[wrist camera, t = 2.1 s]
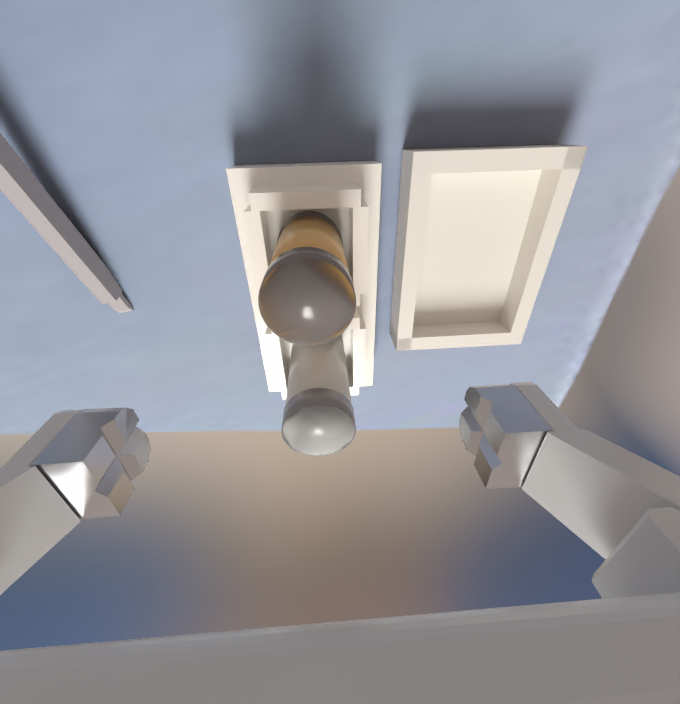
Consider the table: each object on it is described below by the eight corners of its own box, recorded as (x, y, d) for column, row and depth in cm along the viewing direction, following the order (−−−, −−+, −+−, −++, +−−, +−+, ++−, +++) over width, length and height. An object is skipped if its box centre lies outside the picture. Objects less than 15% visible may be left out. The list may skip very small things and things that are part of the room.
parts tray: (402, 149, 18) (413, 151, 16) (557, 144, 19) (588, 146, 17) (389, 332, 25) (396, 350, 23) (503, 326, 25) (520, 343, 23)
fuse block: (234, 165, 18) (166, 193, 10) (375, 160, 19) (424, 183, 10) (272, 375, 27) (252, 485, 18) (369, 369, 27) (392, 475, 19)
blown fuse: (274, 212, 18) (250, 258, 11) (341, 209, 18) (356, 254, 11) (282, 276, 20) (266, 348, 13) (342, 273, 20) (356, 343, 13)
